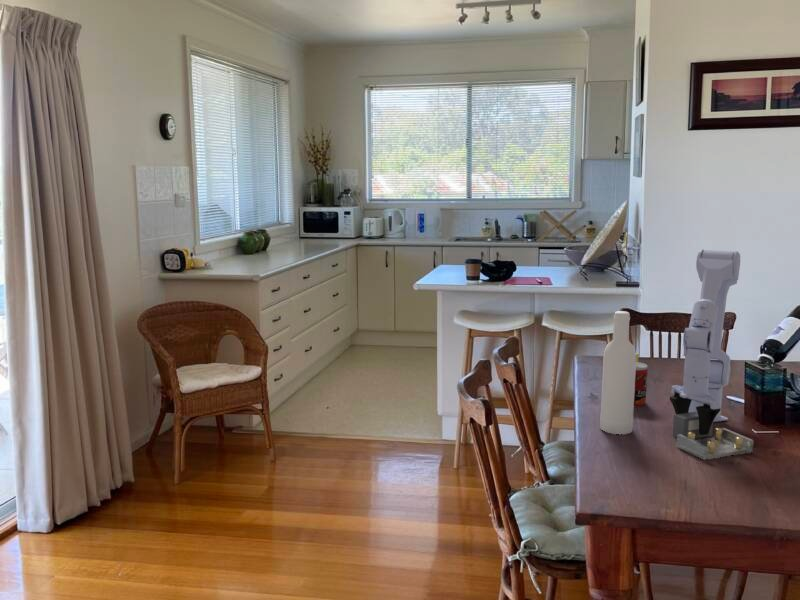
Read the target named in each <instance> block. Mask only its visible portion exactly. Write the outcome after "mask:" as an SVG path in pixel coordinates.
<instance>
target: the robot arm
mask: <svg viewBox="0 0 800 600" xmlns="http://www.w3.org/2000/svg"><path fill="white" fill-rule="evenodd" d="M696 255H697V256H696V262H695V263H696V264H695V266H696V267H695V268H696V272H697V274H698V278H699V280H700V282H701V291H700V298H699V300H696V302H694V304H693V308H692V312H691V316H690V321H689V324H688V327H685V328H684V332H683V338H682V345H683V357H684V366H683V367H684V369H683V383H682V385H679V384H676V385H671V394H673V395H670V396H669V400H670V402H671V404H672V406H673V407H672V408H673V409H674V414H682V413H689V412H697V413H698V417H699V434H700V435H706V434H708V433H709V430H710V427H711V425H712V422H713V423H715V422H716V423H717V422H722V421H723V422H724V421H728V420H729V418H728V417H726V416H724V415H721V414H722V401H723V387H726V386H727V385H728V384H729V382H730V377H731V362H732V360H731V357H730V355H728V353H726V352H725V351H724V350H723V349H722V348H721V347H722V338H723V330H724V321H725V313H726V312H725V311H726V306H727V305H726V304H727V296H728V293H729V289H730V287H732V286H734V285H737V283H738V281H739V276H740V268H741V254H740V252H739V251H736V250H735V251H732V250H731V251H728V250H707V249H703V248H702V249H700V250H699V251H698V252H697V254H696ZM717 360H718V361H717Z"/></svg>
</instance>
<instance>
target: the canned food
mask: <svg viewBox="0 0 800 600" xmlns="http://www.w3.org/2000/svg"><path fill="white" fill-rule="evenodd" d="M648 372H649V371H648V365H647V364H646V363H643V362H639V361H638V362H636V373H635V391H634V407H641V406H644V405H645V404H646V402H647V385H648Z"/></svg>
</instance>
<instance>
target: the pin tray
mask: <svg viewBox="0 0 800 600" xmlns="http://www.w3.org/2000/svg"><path fill="white" fill-rule="evenodd" d="M675 447H676V448H678V449H680V450H681V451H684V452H686V453H688V454H691V456H694V457H697V458H698V457H699V459H700V458H701V459H700V460H702V459H703V460H702V461H706V460H705V459H708V460H714V459H713V458H715V459H720V457H721V458H725V457H726V456H727V457H732V456H731V455H734V456H739V455H738V454H740V455H744V454H745V453H746V454H752V453H753V449H754V439H752V438H749V437H747V436H745V435H742V434H740V433H737V432H735V431H732V430H730V429H728V428H725V427H721V428H720V427H715V428H714V436H712V437H708V438H707V437H705V438H698V439H696V438H695V433H694V432H688V437H686V436H684V435H681V434H678V435H677V437H676V445H675ZM751 452H752V453H751Z"/></svg>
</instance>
